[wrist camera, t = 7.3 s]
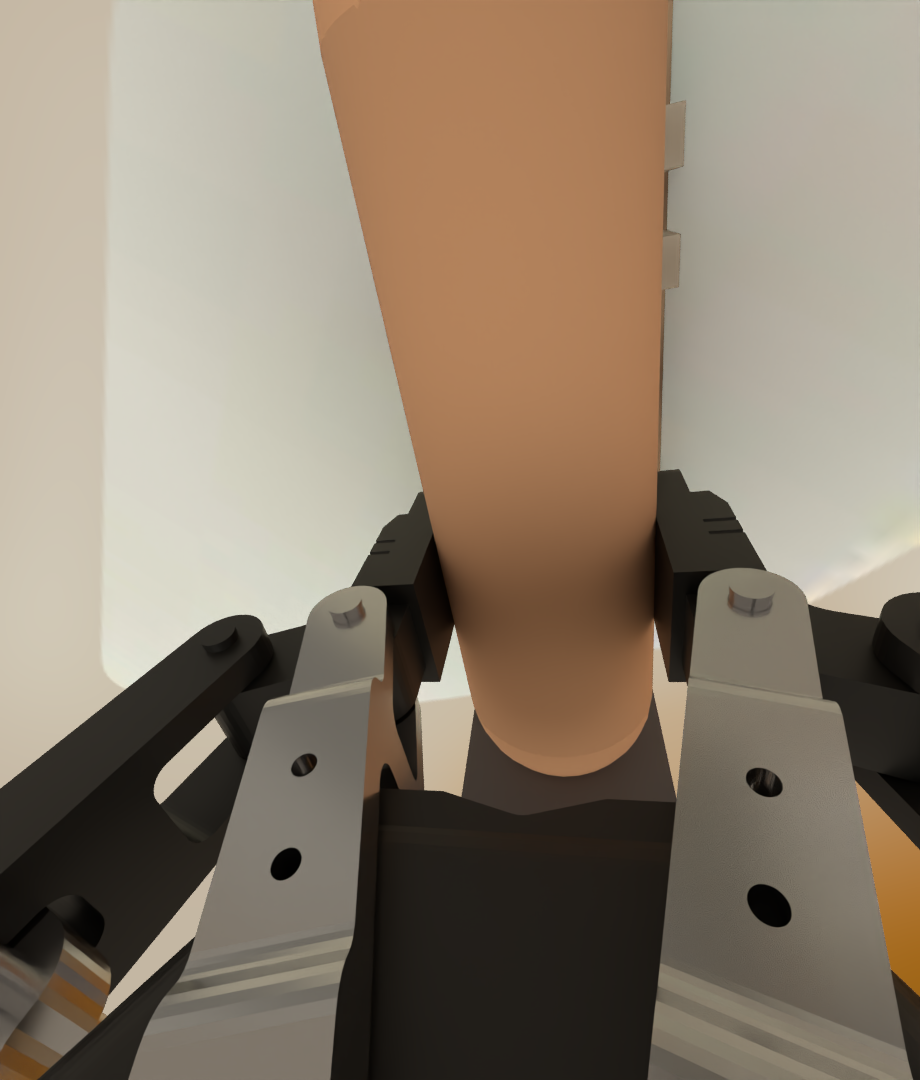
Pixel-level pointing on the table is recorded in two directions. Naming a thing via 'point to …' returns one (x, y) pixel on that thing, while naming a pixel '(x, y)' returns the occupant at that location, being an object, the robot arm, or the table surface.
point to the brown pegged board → (670, 239)
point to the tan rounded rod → (525, 355)
